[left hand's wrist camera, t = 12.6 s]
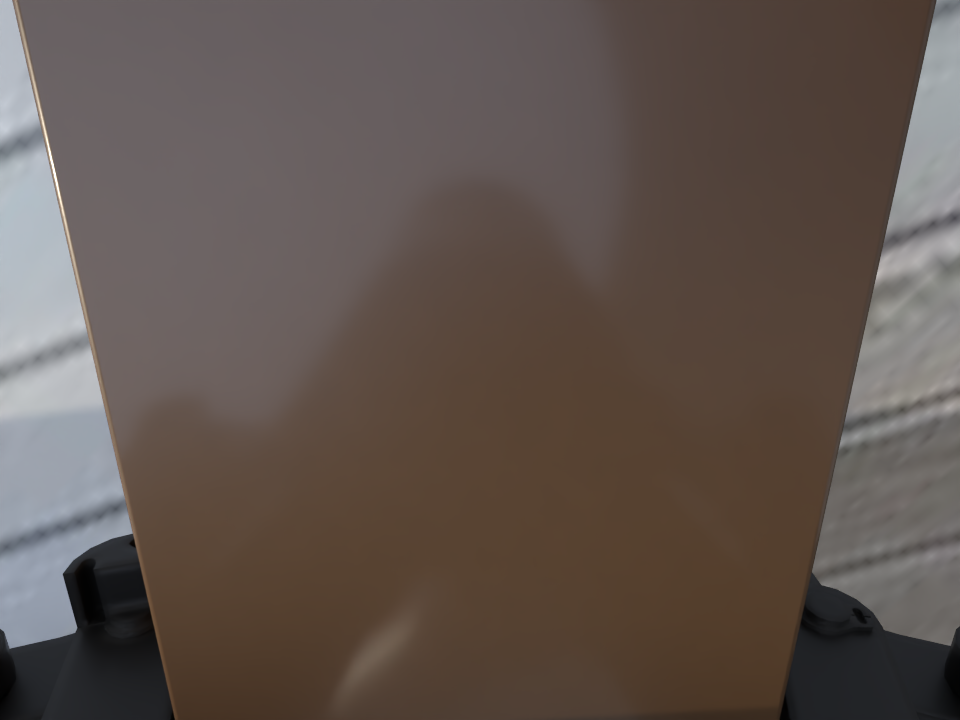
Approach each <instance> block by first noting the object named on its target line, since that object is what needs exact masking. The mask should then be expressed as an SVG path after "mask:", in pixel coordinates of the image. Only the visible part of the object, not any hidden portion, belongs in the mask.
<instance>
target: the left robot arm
mask: <svg viewBox="0 0 960 720" xmlns="http://www.w3.org/2000/svg"><path fill="white" fill-rule="evenodd" d="M63 577H64V580H65V584H66V588H67V591H68V595H69V599H70V602H71V606H72V610H73V613H74V617H75V620H76V624H77V631H76V633H74V634H70V635H67V636H64V637H60V638H56V639H51V640H47V641H42V642H38V643H34V644H29V645H25V646H20V647H16V648H11V649H9V646H8V643H7V640H6V637H5V634H4V632H3V631H2V630H1V629H0V720H175V717H174V713H173V708H172V704H171V699H170V695H169V690H168V686H167V682H166V677H165V673H164V668H163V664H162V660H161V655H160V651H159V646H158V642H157V637H156V633H155V629H154V624H153V620H152V615H151V611H150V606H149V602H148V598H147V593H146V589H145V584H144V580H143V575H142V571H141V567H140V562H139V558H138V553H137V549H136V545H135V540H134V536H133V534H130V535H126V536H122V537H118V538H114V539H110V540H108V541H106V542H104V543H101V544H99V545H97V546H95V547H92V548H90V549H89V550H88V551H86V552H85V553H83V554H82V555H80V556H79V557H78V558H76V559H75V560H73V562H72V563H71V564H70V565H69V567H68V568H67V569H66V571H65V572H64V573H63ZM779 720H960V627H958V628H957V629H956V632H955V635H954V638H953V641H952V644H951V646H948V645H943V644H939V643H934V642H930V641H925V640H921V639H916V638H912V637H907V636H903V635H899V634H895V633H892V632H888V631H885V630H884V629H883V627H882V626H881V624H880V623H879V621H878V620H877V618H876V617H875V615H874V614H873V612H871V611H870V610H869V609H868V608H866V607H865V606H864V605H863V604H861V603H860V602H859V601H858V600H857V599H855V598H853V597H851V596H849V595H847V594H845V593H843V592H841V591H839V590H837V589H833V588H830V587H826V586H822V585H821V584H820V583H819V581H818V580H817V579H816V577H815V576H814V574H813V573H811V577H810V582H809V586H808V591H807V596H806V600H805V605H804V609H803V614H802V619H801V623H800V628H799V632H798V637H797V641H796V646H795V651H794V655H793V660H792V664H791V669H790V673H789V678H788V683H787V687H786V692H785V696H784V701H783V706H782V710H781V715H780V719H779Z"/></svg>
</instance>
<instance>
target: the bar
mask: <svg viewBox="0 0 960 720" xmlns="http://www.w3.org/2000/svg"><path fill="white" fill-rule="evenodd" d="M12 1H13V5H14V9H15V14H16V18H17V23H18V27H19V31H20V36H21V40H22V45H23V49H24V54H25V58H26V62H27V67H28V71H29V76H30V80H31V85H32V89H33V93H34V98H35V102H36V107H37V111H38V116H39V120H40V124H41V129H42V133H43V138H44V142H45V146H46V151H47V155H48V160H49V164H50V169H51V173H52V177H53V182H54V186H55V191H56V195H57V200H58V204H59V208H60V213H61V217H62V222H63V226H64V231H65V235H66V239H67V244H68V248H69V253H70V257H71V261H72V266H73V270H74V275H75V279H76V284H77V288H78V292H79V297H80V301H81V306H82V310H83V315H84V319H85V323H86V328H87V332H88V337H89V341H90V346H91V350H92V354H93V359H94V363H95V368H96V372H97V376H98V381H99V385H100V390H101V394H102V399H103V403H104V407H105V412H106V416H107V421H108V425H109V430H110V434H111V438H112V443H113V447H114V452H115V456H116V460H117V465H118V469H119V474H120V478H121V483H122V487H123V491H124V496H125V500H126V505H127V509H128V514H129V518H130V522H131V527H132V531H133V536H134V540H135V545H136V549H137V553H138V558H139V562H140V567H141V571H142V575H143V580H144V584H145V589H146V593H147V598H148V602H149V606H150V611H151V615H152V620H153V624H154V629H155V633H156V637H157V642H158V646H159V651H160V655H161V660H162V664H163V668H164V673H165V677H166V682H167V686H168V690H169V695H170V699H171V704H172V708H173V713H174V717H175V720H779V719H780V715H781V710H782V706H783V701H784V696H785V692H786V687H787V683H788V678H789V673H790V669H791V664H792V660H793V655H794V651H795V646H796V641H797V637H798V632H799V628H800V623H801V619H802V614H803V609H804V605H805V600H806V596H807V591H808V586H809V582H810V577H811V573H812V568H813V564H814V559H815V554H816V550H817V545H818V541H819V536H820V531H821V527H822V522H823V518H824V513H825V509H826V504H827V499H828V495H829V490H830V486H831V481H832V476H833V472H834V467H835V463H836V458H837V454H838V449H839V444H840V440H841V435H842V431H843V426H844V421H845V417H846V412H847V408H848V403H849V399H850V394H851V389H852V385H853V380H854V376H855V371H856V367H857V362H858V357H859V353H860V348H861V344H862V339H863V334H864V330H865V325H866V321H867V316H868V312H869V307H870V302H871V298H872V293H873V289H874V284H875V279H876V275H877V270H878V266H879V261H880V257H881V252H882V247H883V243H884V238H885V234H886V229H887V224H888V220H889V215H890V211H891V206H892V202H893V197H894V192H895V188H896V183H897V179H898V174H899V169H900V165H901V160H902V156H903V151H904V147H905V142H906V137H907V133H908V128H909V124H910V119H911V115H912V110H913V105H914V101H915V96H916V92H917V87H918V82H919V78H920V73H921V69H922V64H923V60H924V55H925V50H926V46H927V41H928V37H929V32H930V27H931V23H932V18H933V14H934V9H935V5H936V0H12Z"/></svg>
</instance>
